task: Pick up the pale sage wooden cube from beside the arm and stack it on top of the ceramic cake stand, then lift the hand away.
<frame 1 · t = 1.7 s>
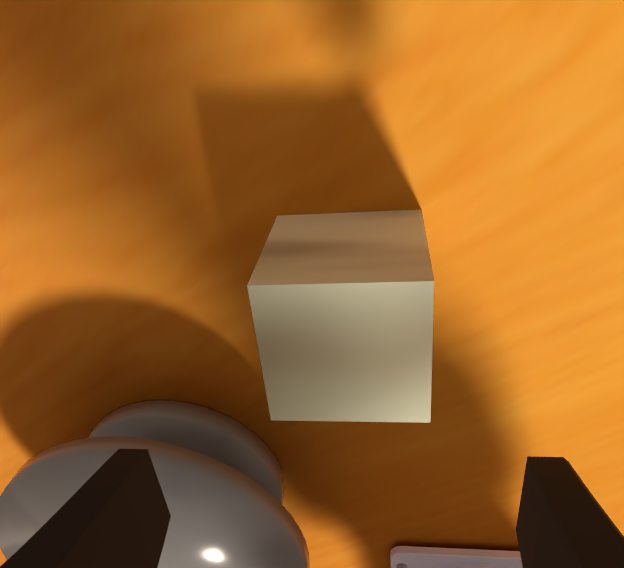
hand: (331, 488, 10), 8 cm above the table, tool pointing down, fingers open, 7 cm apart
block: (351, 274, 18), on the table
cake stand: (185, 476, 23), on the table
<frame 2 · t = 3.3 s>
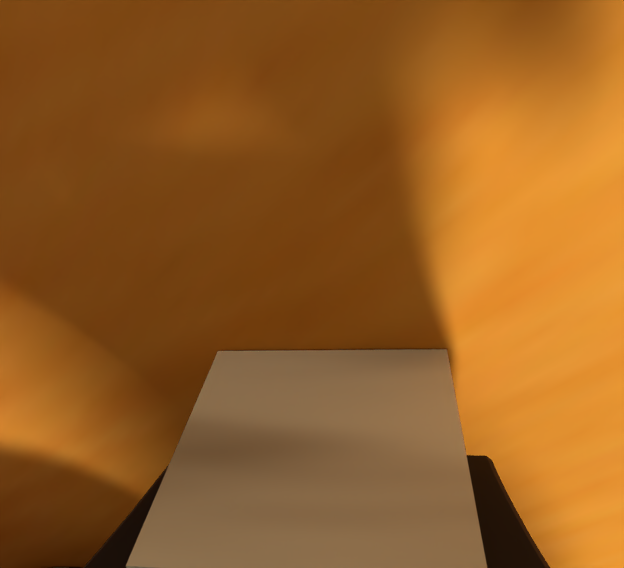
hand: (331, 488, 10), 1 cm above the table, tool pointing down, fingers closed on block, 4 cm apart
block: (336, 433, 11), on the table, touching gripper
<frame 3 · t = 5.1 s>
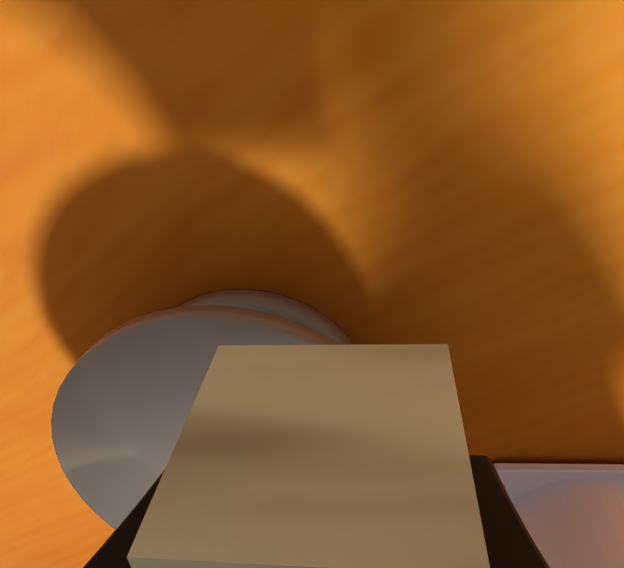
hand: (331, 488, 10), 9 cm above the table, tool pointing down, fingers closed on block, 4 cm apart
block: (337, 428, 11), point 7 cm above the table, touching gripper
cake stand: (255, 386, 21), on the table
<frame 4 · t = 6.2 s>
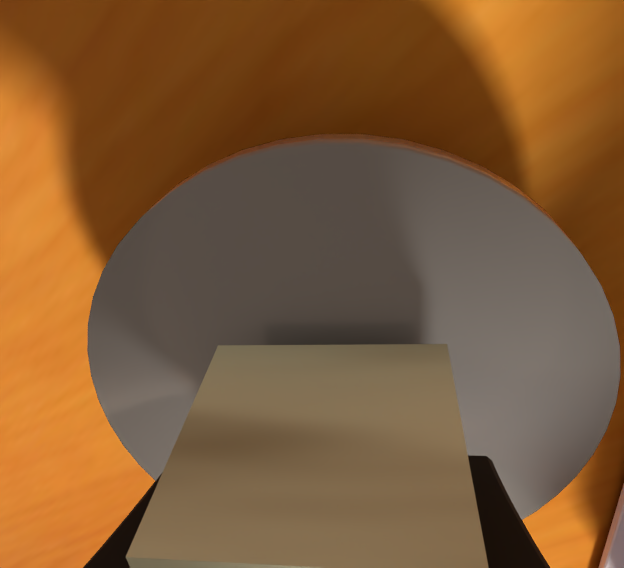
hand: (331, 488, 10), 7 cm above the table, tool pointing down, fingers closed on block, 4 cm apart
block: (336, 428, 11), point 5 cm above the table, touching gripper
cake stand: (348, 305, 16), on the table
when the fingers open (7 cm above the table, at t = 6.9 s): block stays where it is, resting on cake stand.
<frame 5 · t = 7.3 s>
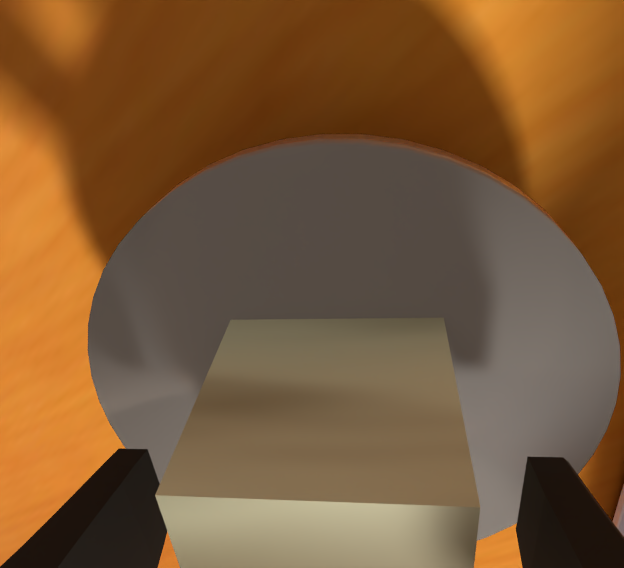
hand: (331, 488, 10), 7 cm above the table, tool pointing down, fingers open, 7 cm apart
block: (340, 399, 12), point 4 cm above the table, touching cake stand
cake stand: (348, 305, 16), on the table
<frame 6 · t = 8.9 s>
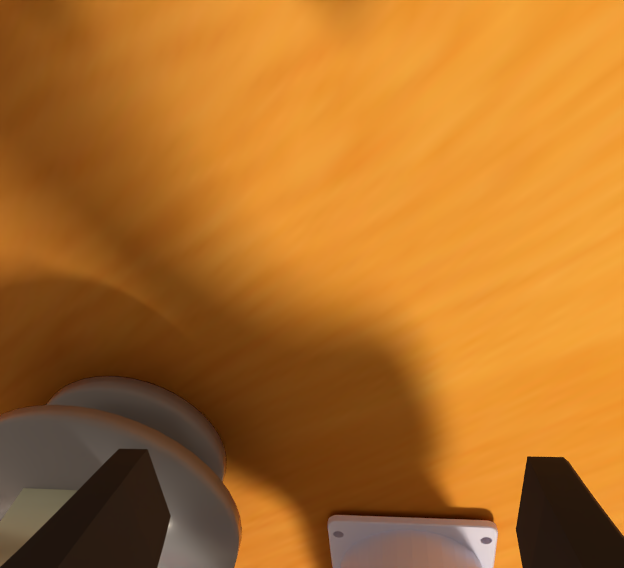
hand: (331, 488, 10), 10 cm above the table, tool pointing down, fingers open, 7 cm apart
block: (93, 526, 21), point 4 cm above the table, touching cake stand
cake stand: (134, 449, 25), on the table
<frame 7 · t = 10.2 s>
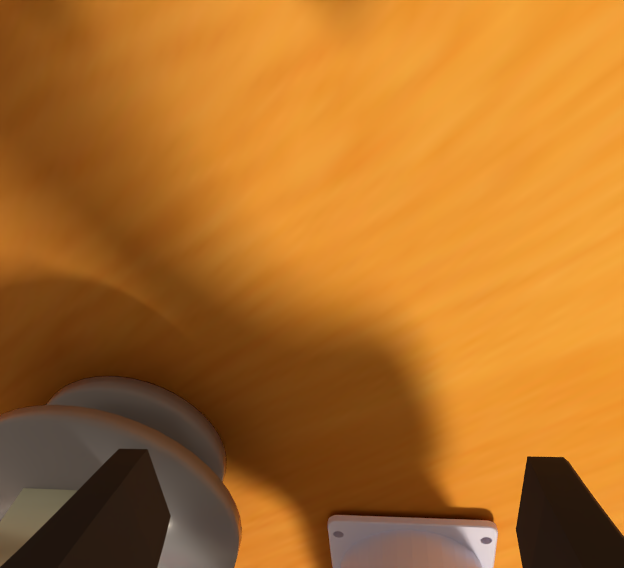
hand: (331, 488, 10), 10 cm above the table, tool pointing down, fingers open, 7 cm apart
block: (93, 526, 21), point 4 cm above the table, touching cake stand
cake stand: (134, 449, 25), on the table
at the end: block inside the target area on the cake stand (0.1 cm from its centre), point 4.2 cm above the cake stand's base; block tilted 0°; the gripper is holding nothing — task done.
